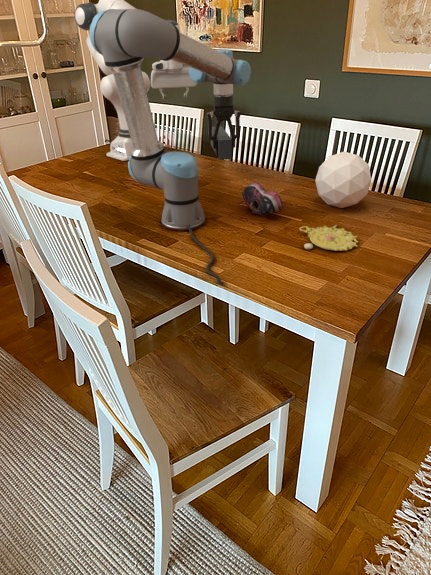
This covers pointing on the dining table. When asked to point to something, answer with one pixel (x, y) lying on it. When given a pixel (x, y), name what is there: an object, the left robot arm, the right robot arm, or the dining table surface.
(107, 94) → the left robot arm
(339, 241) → the decorative object
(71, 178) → the dining table surface
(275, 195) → the athletic shoe
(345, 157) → the sphere
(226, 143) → the bar
